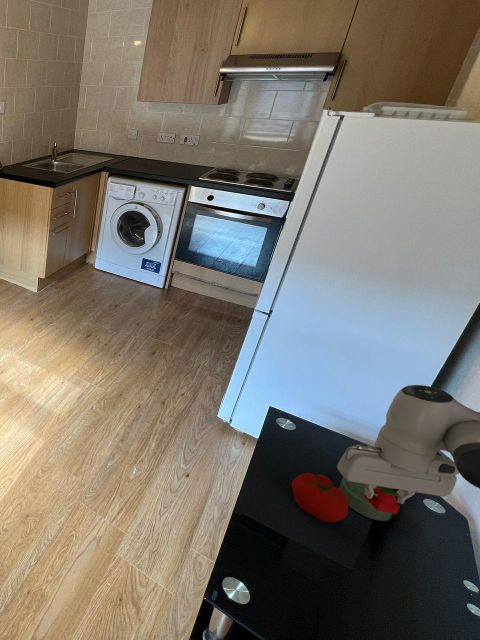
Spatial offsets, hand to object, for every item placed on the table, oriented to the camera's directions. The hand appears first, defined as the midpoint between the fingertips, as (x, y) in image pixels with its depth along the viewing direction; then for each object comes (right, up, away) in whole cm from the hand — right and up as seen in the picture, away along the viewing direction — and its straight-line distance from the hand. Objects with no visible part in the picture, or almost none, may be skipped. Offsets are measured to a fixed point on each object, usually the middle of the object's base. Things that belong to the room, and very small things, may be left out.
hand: (383, 498), depth 95 cm
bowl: (+13, -12, +18) cm, 25 cm away
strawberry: (0, -2, +1) cm, 2 cm away
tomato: (-2, -13, +16) cm, 21 cm away
